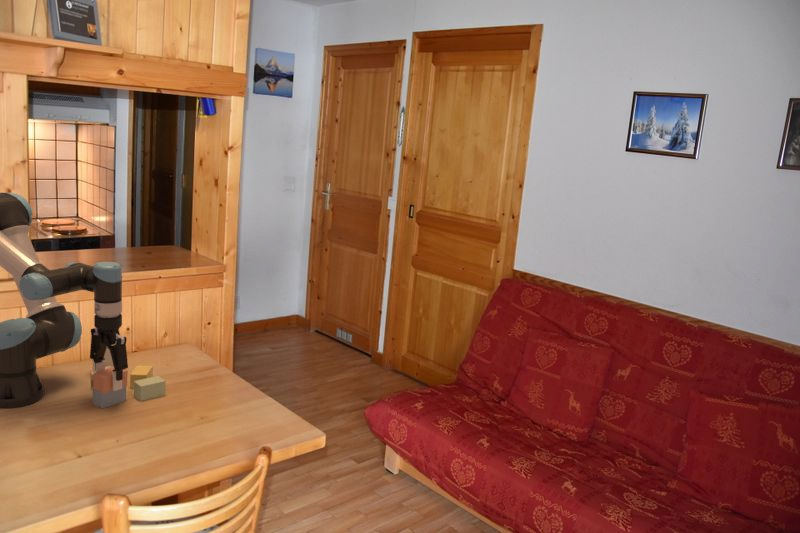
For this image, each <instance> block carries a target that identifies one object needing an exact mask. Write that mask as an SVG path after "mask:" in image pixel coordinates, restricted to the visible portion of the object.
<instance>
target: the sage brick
mask: <svg viewBox="0 0 800 533" xmlns="http://www.w3.org/2000/svg"><path fill="white" fill-rule="evenodd" d="M166 381H167V380H165V379H164V378H162V377H161V376H159V375H156V376H153V377H151V378H146V379H142V380H137V381H134V389H133V396H134V397H135V398H136V399H137V400H139V402H144V401H147V400H151V399H155V398H159V397H163V396H166Z"/></svg>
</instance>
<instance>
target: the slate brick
mask: <svg viewBox="0 0 800 533" xmlns="http://www.w3.org/2000/svg"><path fill="white" fill-rule="evenodd" d="M126 401H127V386H124V387H122V389H119V390H116V391H110V392H107V393H102V392H100V391H98V390H96V389H93V388H92V404H93V405H95V406H97V407H99V408H101V409H104V408H108V407H111V406H114V405H117V404H120V403H122V402H126Z"/></svg>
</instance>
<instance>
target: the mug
mask: <svg viewBox="0 0 800 533" xmlns="http://www.w3.org/2000/svg"><path fill="white" fill-rule="evenodd" d="M113 345H116V343H115V344H113ZM113 345H111V346H113ZM94 354H95V353H94ZM104 358H105V360H103V361H105V367H107V366H112V367H114V365H113V361H112V357H111V353H110V350H109V349H108V348H106V351H105V355H104ZM93 372H96V371H95V362H94V360H93V359H92V373H93Z"/></svg>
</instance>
